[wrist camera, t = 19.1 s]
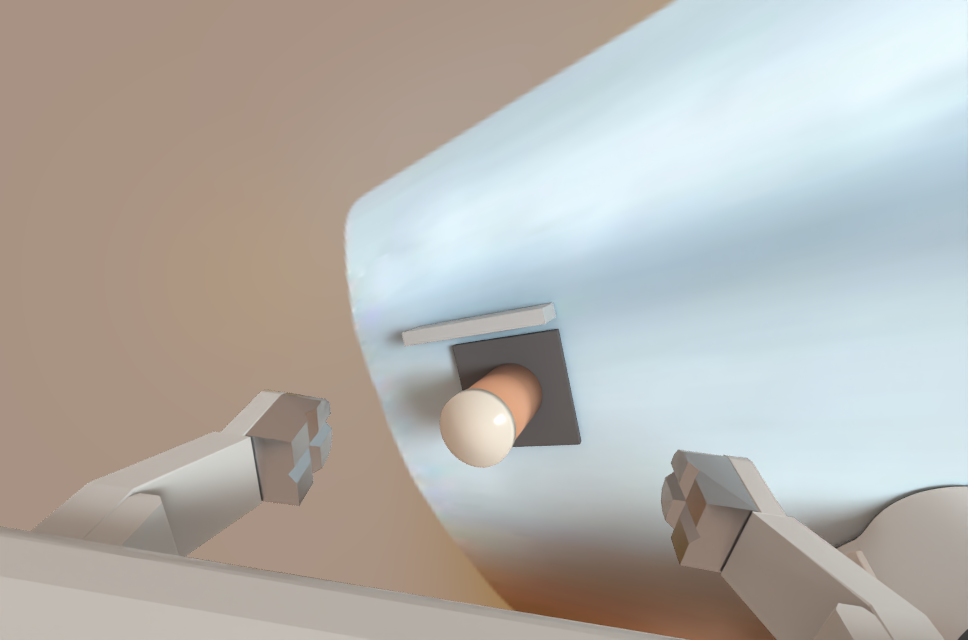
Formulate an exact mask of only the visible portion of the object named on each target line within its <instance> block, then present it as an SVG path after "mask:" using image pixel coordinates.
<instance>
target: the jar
mask: <svg viewBox="0 0 968 640" xmlns="http://www.w3.org/2000/svg"><path fill="white" fill-rule="evenodd" d="M541 403H542V388H541V385H540V383H539V381H538V379H537V378H536V376H535V375H534V374H533V373H532V372H531V371H530V370H529V369H527V368H526V367H524V366H522V365H519V364H514V363H506V364H502V365H500V366H498V367H496V368H495V369H493V370H492V371H491V372H489V373H488V374H487V375H486V376H484V377H483V378H482V379H480V380H479V381H478V382H476V383H475V384H474V385H472V386H471V387H470V388H468V389H466V390H463V391H461V392H459V393H458V394H457V395H455V396H454V397H453V398H451V399H450V400H449V401H448V402H447V403H446V404H445V406H444V407H443V410H442V412H441V416H440V431H441V435H442V438H443V440H444V442H445V444H446V446H447V447H448V449H449V450H450V451H451V452H452V454H453V455H454V456H456V457H457V458H458V459H459V460H461V461H462V462H464V463H466V464H468V465H471V466H474V467H490V466H493V465H496V464H497V463H499V462H500V461H502V460H503V459H504V457H505V456H506V455H507V454H508V452H509V451H510V450H511V448H512V446H513V445H514V442H515V439H516V438H517V437H518V436H519V434H520V433H521V432H522V430H523V429H524V428H525V427H526V425H527V424H528V423H529V421H530V420H531V419H532V418H533V416H534V415H535V414H536V412H537V411H538V410H539V408H540V406H541Z"/></svg>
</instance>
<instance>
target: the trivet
mask: <svg viewBox="0 0 968 640" xmlns="http://www.w3.org/2000/svg"><path fill="white" fill-rule="evenodd" d="M453 349H454V354H455V358H456V363H457V367H458V372H459V376H460V381H461V385H462V390H466V389H468V388H470V387H471V386H472V385H474V384H475V383H476V382H478V381H479V380H480V379H482V378H483V377H484V376H486V375H487V374H488V373H489V372H491V371H492V370H493V369H495V368H496V367H498V366H500V365H502V364H506V363H514V364H519V365H522V366H524V367H526V368H527V369H529V370H530V371H531V372H532V373H533V374H534V375H535V376H536V378H537V379H538V381H539V383H540V385H541V388H542V403H541V406H540V408H539V410H538V411H537V412H536V414H535V415H534V416H533V418H532V419H531V420H530V421H529V423H528V424H527V425H526V427H525V428H524V429H523V430H522V432H521V433H520V434H519V436H518V437H517V438H516V439H515V442H514V445H513V446H512V447H524V446H551V445H578V444H580V443H581V438H580V433H579V428H578V423H577V418H576V413H575V408H574V403H573V398H572V393H571V388H570V383H569V378H568V373H567V368H566V363H565V358H564V353H563V348H562V343H561V338H560V333H559V329H555V330H548V331H542V332H535V333H528V334H522V335H515V336H509V337H502V338H496V339H489V340H482V341H476V342H469V343H463V344H456V345H454V346H453Z"/></svg>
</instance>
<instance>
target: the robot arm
mask: <svg viewBox="0 0 968 640" xmlns="http://www.w3.org/2000/svg"><path fill="white" fill-rule="evenodd" d="M330 414H331V412H330V404H329V401H327V400H326V399H322V398H316V397H310V396H304V395H298V394H292V393H284V392H279V391H272V390H264V391H261V392H260V393H259V394H258V395H257V396H256V397H255V398H254V399H253V400H252V401H251V402H250V403H249V404H248V405H247V406H246V407H245V408H244V409H243V410H242V411H241V412H240V413H239V414H238V415H237V416H236V417H235V418H234V419H233V420H232V421H231V422H230V423H229V424H228V425H227V426H226V427H225V428H224V429H223V430H222V431H221V432H215V431H214V432H211V433H209V434H206V435H204V436H201V437H199V438H197V439H194V440H192V441H189V442H187V443H184V444H182V445H179V446H177V447H175V448H172V449H170V450H168V451H165V452H162V453H160V454H158V455H155V456H153V457H150V458H148V459H145V460H143V461H141V462H138V463H136V464H133V465H131V466H128V467H126V468H123V469H121V470H118V471H116V472H113V473H111V474H109V475H106V476H104V477H102V478H99V479H96V480H94V481H91V482H89V483H88V484H86V485H85V486H84V487H83V488H82V489H80V490H79V491H78V492H77V493H76V494H74V495H73V496H72V497H71V498H70V499H68V500H67V501H66V502H65V503H64V504H62V505H61V506H60V507H59V508H58V509H56V510H55V511H54V512H53V513H51V514H50V515H49V516H48V517H47V518H45V519H44V520H43V521H42V522H41V523H40V524H38V525H37V526H36V527H35V528H34V529H32V530H31V531H26V530H20V529H14V528H7V527H1V526H0V640H688V639H682V638H676V637H670V636H664V635H658V634H652V633H646V632H640V631H634V630H628V629H622V628H615V627H609V626H603V625H597V624H591V623H585V622H579V621H573V620H567V619H561V618H555V617H549V616H543V615H537V614H530V613H524V612H518V611H512V610H506V609H500V608H494V607H488V606H482V605H476V604H470V603H463V602H458V601H452V600H446V599H439V598H433V597H427V596H421V595H414V594H409V593H403V592H396V591H391V590H385V589H379V588H372V587H366V586H361V585H354V584H348V583H342V582H336V581H330V580H324V579H318V578H312V577H306V576H300V575H294V574H288V573H282V572H275V571H269V570H263V569H257V568H251V567H245V566H239V565H233V564H226V563H221V562H214V561H209V560H203V559H196V558H190V557H185V556H187V555H188V554H189V553H191V552H192V551H194V550H195V549H197V548H198V547H199V546H201V545H202V544H204V543H205V542H206V541H208V540H209V539H211V538H212V537H214V536H215V535H217V534H218V533H220V532H221V531H222V530H224V529H225V528H227V527H228V526H229V525H231V524H232V523H234V522H235V521H237V520H238V519H240V518H241V517H243V516H244V515H245V514H247V513H248V512H250V511H251V510H253V509H254V508H255V507H257V506H258V505H260V504H261V503H262V501H266V502H273V503H281V504H289V505H298V506H299V505H300V504H301V502H302V500H303V499H304V497H305V496H306V494H307V492H308V491H309V489H310V487H311V486H312V484H313V475H312V474H313V473H314V472H316V471H318V470H320V469H321V468H322V467H323V465H324V464H325V462H326V460H327V458H328V455H329V451H330V448H331V443H332V429H331V427H330V426H329V425H328V424H327V422H326V420H327V418H328V417H329V415H330ZM671 464H672V467H673V470H674V472H673V473H672V474H670V475H669V476H667V477H666V478H665V481H664V484H663V487H662V495H661V504H662V511H663V514H664V517H665V520H666V521H667V522H668V523H669V524H670V525H671V526H672V527H673V528H674V531H673V534H672V536H671V540H672V543H673V546H674V549H675V552H676V555H677V558H678V561H679V564H680V565H681V566H687V567H692V568H698V569H703V570H708V571H714V572H719V573H721V576H722V577H723V578H724V579H725V580H726V582H727V583H728V584H729V585H730V586H731V587H732V589H733V590H734V591H735V592H736V593H737V594H738V596H739V597H740V598H741V599H742V600H743V601H744V602H745V604H746V605H747V606H748V607H749V608H750V609H751V611H752V612H753V613H754V614H755V615H756V616H757V618H758V619H759V620H760V621H761V622H762V623H763V624H764V626H765V627H766V628H767V629H768V630H769V631H770V633H771V634H772V635H773V636H774V637H775V638H776V640H968V487H946V488H938V489H932V490H927V491H923V492H920V493H916V494H913V495H910V496H908V497H905V498H903V499H901V500H899V501H897V502H895V503H893V504H892V505H890V506H889V507H887V508H886V509H884V510H883V511H882V512H881V513H879V514H878V515H877V516H876V517H875V518H874V519H873V520H872V522H871V523H870V524H869V525H868V527H867V528H866V529H865V531H864V532H863V533H862V534H861V535H860V536H859V537H858V538H857V539H855V540H853V541H851V542H849V543H847V544H844V545H842V546H840V547H839V548H837V549H836V548H834V547H833V546H832V545H830V544H829V543H828V542H826V541H825V540H824V539H822V538H821V537H819V536H818V535H817V534H815V533H814V532H813V531H811V530H810V529H809V528H807V527H806V526H805V525H803V524H802V523H801V522H799V521H798V520H797V519H795V518H793V517H787V516H786V515H785V513H784V512H783V510H782V508H781V507H780V505H779V504H778V502H777V500H776V499H775V497H774V496H773V494H772V493H771V491H770V489H769V488H768V486H767V485H766V483H765V481H764V480H763V478H762V477H761V475H760V473H759V472H758V470H757V469H756V467H755V465H754V464H753V462H752V461H750V460H749V459H748V458H743V457H734V456H726V455H724V456H721V455H714V454H706V453H699V452H692V451H685V450H677V452H676V453H675V454H674V456H673V459H672V461H671Z"/></svg>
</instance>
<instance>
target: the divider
mask: <svg viewBox="0 0 968 640" xmlns="http://www.w3.org/2000/svg"><path fill="white" fill-rule="evenodd" d="M555 317H556V313H555V309H554V304H553V303H547V304H542V305H536V306H531V307H525V308H519V309H514V310H508V311H503V312H497V313H491V314H486V315H480V316H475V317H469V318H463V319H458V320H452V321H447V322H441V323H435V324H430V325H424V326H420V327H417V328H414V329H411V330H408V331H405V332H402V337H403V341H404V345H405V346H409V345H416V344H422V343H428V342H435V341H441V340H447V339H454V338H460V337H466V336H472V335H479V334H485V333H491V332H498V331H504V330H510V329H517V328H523V327H529V326H536V325H542V324H546V323H548V322H549V321H551V320H552V319H554V318H555Z"/></svg>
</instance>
